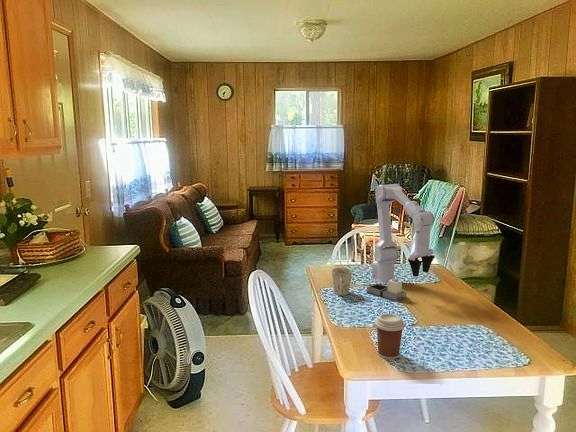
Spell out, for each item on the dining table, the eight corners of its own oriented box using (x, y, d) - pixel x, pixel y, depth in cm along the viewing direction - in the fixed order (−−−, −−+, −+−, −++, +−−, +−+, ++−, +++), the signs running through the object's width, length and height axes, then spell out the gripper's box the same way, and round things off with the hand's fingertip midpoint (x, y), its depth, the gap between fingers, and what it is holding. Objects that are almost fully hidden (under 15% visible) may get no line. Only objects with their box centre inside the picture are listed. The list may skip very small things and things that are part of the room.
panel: (365, 293, 203) (365, 287, 202) (377, 289, 209) (377, 282, 208) (395, 303, 192) (395, 296, 191) (407, 298, 198) (408, 291, 197)
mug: (351, 290, 207) (351, 268, 205) (352, 300, 195) (352, 277, 193) (331, 289, 208) (331, 267, 206) (331, 300, 195) (331, 276, 194)
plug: (387, 297, 197) (388, 278, 196) (393, 294, 200) (393, 276, 199) (395, 299, 195) (396, 281, 193) (401, 297, 197) (402, 278, 196)
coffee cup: (399, 347, 154) (400, 311, 151) (407, 361, 145) (409, 323, 142) (370, 347, 153) (371, 312, 151) (376, 361, 144) (378, 323, 142)
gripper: (421, 246, 186) (419, 280, 189) (440, 240, 196) (438, 272, 199) (405, 243, 192) (404, 276, 194) (425, 237, 201) (423, 268, 204)
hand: (420, 274), depth 197 cm, fingers open, 7 cm apart
